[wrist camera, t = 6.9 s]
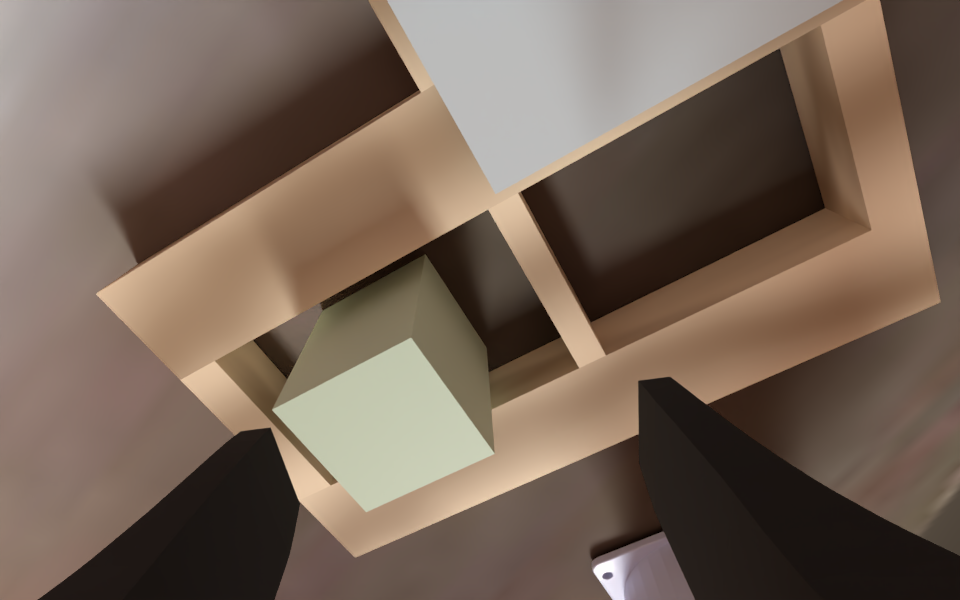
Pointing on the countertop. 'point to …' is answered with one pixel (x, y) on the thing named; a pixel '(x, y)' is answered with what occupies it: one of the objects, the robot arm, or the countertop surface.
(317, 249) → the puzzle board
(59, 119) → the countertop surface
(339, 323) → the block
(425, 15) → the lid
